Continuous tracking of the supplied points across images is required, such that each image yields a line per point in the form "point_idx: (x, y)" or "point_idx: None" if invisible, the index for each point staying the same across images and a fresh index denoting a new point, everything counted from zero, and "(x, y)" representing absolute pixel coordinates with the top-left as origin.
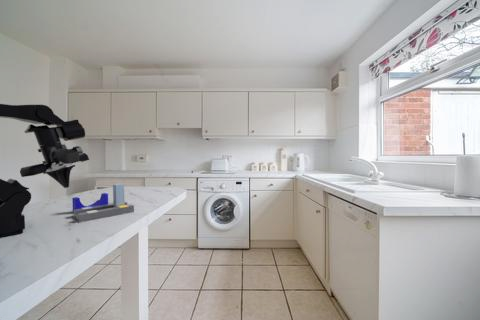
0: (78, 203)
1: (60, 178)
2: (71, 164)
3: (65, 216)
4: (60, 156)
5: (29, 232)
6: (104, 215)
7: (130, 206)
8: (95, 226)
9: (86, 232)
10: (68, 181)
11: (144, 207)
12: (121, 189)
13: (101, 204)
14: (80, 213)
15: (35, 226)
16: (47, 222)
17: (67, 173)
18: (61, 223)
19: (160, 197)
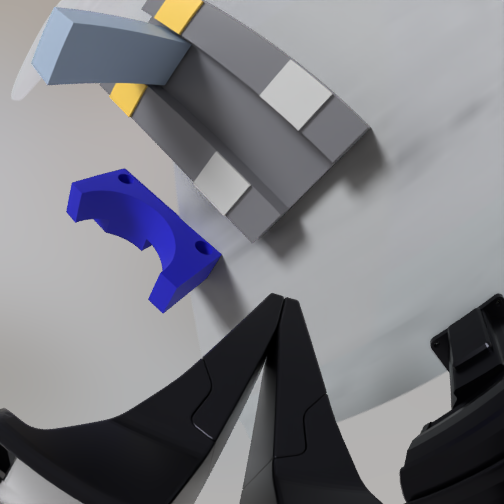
0: (183, 264)
1: (328, 418)
2: (18, 475)
3: (269, 270)
4: None
5: (491, 274)
6: (275, 46)
7: None
8: (423, 9)
9: (497, 13)
10: (248, 329)
11: (122, 5)
12: (87, 15)
13: (128, 189)
14: (330, 144)
15: (414, 306)
16: (361, 293)
17: (196, 419)
18: (384, 215)
19: (27, 71)
